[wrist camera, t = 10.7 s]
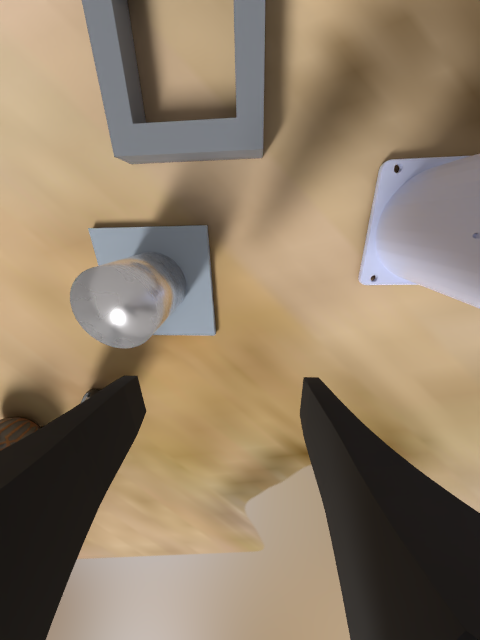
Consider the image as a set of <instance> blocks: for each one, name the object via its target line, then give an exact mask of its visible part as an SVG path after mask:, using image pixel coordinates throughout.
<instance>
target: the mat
mask: <svg viewBox="0 0 480 640" xmlns="http://www.w3.org/2000/svg"><path fill="white" fill-rule="evenodd" d="M88 229H89V233H90V236H91V240H92V244H93V247H94V251H95V254H96V258H97V262H98V265H99V266H100V265H104V264H107V263H111V262H114V261H117V260H121V259H124V258H128V257H131V256H135V255H138V254H142V253H146V252H157V253H161V254H164V255H166V256H168V257H169V258H171V259H172V260H173V261H174V262H176V263H177V265H178V266H179V267H180V268H181V270H182V272H183V274H184V276H185V280H186V294H185V297H184V299H183V301H182V303H181V304H180V305H179V306H178V307H177V308H176V309H175V310H174V312H173V313H172V314H171V315H170V316H169V317H168V318H167V319H166V320H165V321H164V323H163V324H162V325H161V326H160V327H159V328H158V329H157V330H156V331H155V333H154V334H153V335H215V334H216V327H215V314H214V301H213V288H212V276H211V263H210V250H209V237H208V225H197V226H159V227H121V228H88Z"/></svg>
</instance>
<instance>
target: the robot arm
mask: <svg viewBox="0 0 480 640" xmlns="http://www.w3.org/2000/svg"><path fill="white" fill-rule="evenodd" d="M395 165H398V166H399V171H398V172H397V173H395V172H394V167H395ZM373 275H375V279H374V280H372V281H371V277H372V276H373ZM359 282H360V283H362V284H363V285H421V286H424V287H426V288H429V289H431V290H434V291H436V292H439V293H442V294H444V295H447V296H449V297H452V298H454V299H457V300H459V301H462V302H464V303H467V304H469V305H472V306H474V307H477V308H480V153H479V154H476V155H473V156H454V157H432V158H409V159H391V160H388V161H385V162H384V163H383V164H382V165H381V166H380V169H379V173H378V178H377V183H376V189H375V194H374V199H373V204H372V210H371V215H370V220H369V225H368V231H367V236H366V241H365V246H364V252H363V257H362V262H361V267H360V273H359ZM145 413H146V408H145V404H144V401H143V397H142V393H141V389H140V385H139V381H138V377H137V376H123V377H121V378H119V379H117V380H116V381H114V382H113V383H111V384H109V385H108V386H106V387H105V388H103V389H102V390H100V391H99V392H97V393H96V394H94V395H93V396H91V397H90V398H88V399H87V400H85V401H84V402H82V403H80V404H79V405H77V406H76V407H74V408H73V409H71V410H70V411H68V412H66V413H65V414H63V415H61V416H60V417H58V418H57V419H55V420H53V421H52V422H50V423H48V424H47V425H45V426H44V427H42V428H40V429H39V430H37V431H35V432H33V433H32V434H30V435H28V436H26V437H25V438H23V439H21V440H19V441H17V442H15V443H14V444H12V445H10V446H8V447H6V448H4V449H3V450H1V451H0V640H46V637H47V634H48V632H49V629H50V626H51V623H52V621H53V618H54V615H55V613H56V610H57V608H58V605H59V602H60V600H61V597H62V595H63V592H64V590H65V587H66V584H67V582H68V579H69V577H70V574H71V572H72V569H73V567H74V564H75V562H76V560H77V557H78V555H79V552H80V550H81V547H82V545H83V543H84V540H85V538H86V535H87V533H88V531H89V529H90V526H91V524H92V522H93V520H94V517H95V515H96V513H97V510H98V508H99V506H100V504H101V502H102V500H103V498H104V496H105V494H106V492H107V490H108V488H109V486H110V484H111V483H112V481H113V479H114V477H115V475H116V473H117V471H118V470H119V468H120V466H121V464H122V462H123V460H124V459H125V457H126V455H127V453H128V451H129V449H130V447H131V445H132V444H133V442H134V440H135V438H136V436H137V434H138V431H139V429H140V427H141V424H142V421H143V419H144V416H145ZM300 418H301V424H302V430H303V435H304V440H305V443H306V447H307V450H308V454H309V457H310V460H311V464H312V467H313V470H314V474H315V477H316V480H317V484H318V487H319V491H320V494H321V497H322V501H323V505H324V509H325V513H326V517H327V522H328V527H329V531H330V536H331V541H332V546H333V550H334V555H335V560H336V565H337V570H338V575H339V580H340V586H341V591H342V595H343V601H344V606H345V612H346V617H347V623H348V628H349V633H350V639H351V640H480V513H479V512H477V511H476V510H474V509H473V508H471V507H470V506H468V505H467V504H465V503H464V502H462V501H461V500H459V499H458V498H457V497H455V496H454V495H452V494H451V493H450V492H448V491H447V490H445V489H444V488H443V487H441V486H440V485H438V484H437V483H436V482H434V481H433V480H431V479H430V478H429V477H427V476H426V475H425V474H423V473H422V472H421V471H419V470H418V469H417V468H415V467H414V466H413V465H411V464H410V463H409V462H408V461H406V460H405V459H404V458H403V457H401V456H400V455H399V454H398V453H396V452H395V451H394V450H393V449H392V448H390V447H389V446H388V445H387V444H386V443H384V442H383V441H382V440H381V439H380V438H379V437H378V436H376V435H375V434H374V433H373V432H372V431H371V430H370V429H369V428H368V427H366V426H365V425H364V424H363V423H362V422H361V421H360V420H359V419H358V418H357V417H356V416H355V415H354V414H353V413H352V412H351V411H350V410H349V409H348V408H347V407H346V406H345V405H344V404H343V403H342V402H341V401H340V400H339V399H338V398H337V397H336V396H335V395H334V394H333V392H332V391H331V390H330V389H329V388H328V387H327V386H326V385H325V384H324V383H323V382H322V381H321V380H320V379H319V378H311V377H304V380H303V389H302V398H301V408H300Z"/></svg>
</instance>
